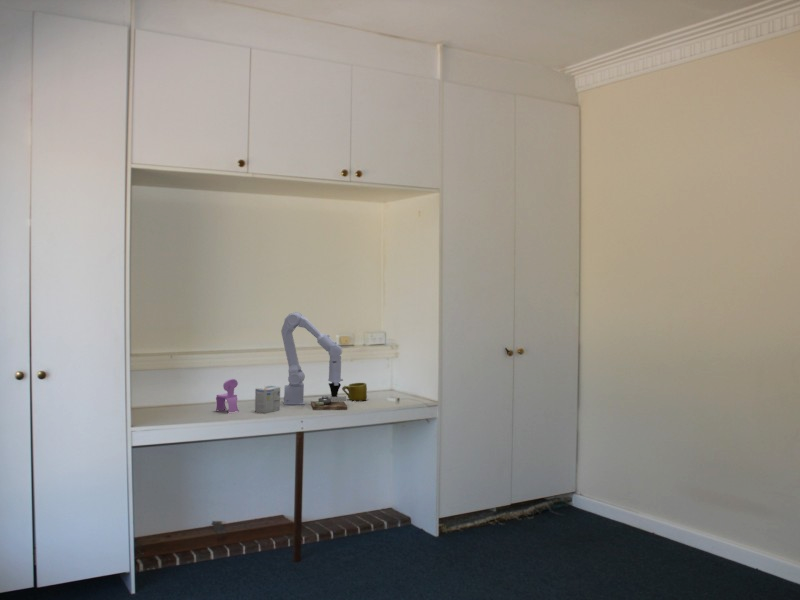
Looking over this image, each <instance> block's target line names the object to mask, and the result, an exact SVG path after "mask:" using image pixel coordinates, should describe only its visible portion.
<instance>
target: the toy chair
mask: <svg viewBox="0 0 800 600" xmlns="http://www.w3.org/2000/svg"><path fill="white" fill-rule="evenodd" d="M238 385H239V382H238V380H237V379H236V378H230V379H227V380H226V381H225V382H224V383H223V385H222V386H223V389H224V391H226V393H221V394H216V397H215V400H216V409H215V411H216V410H221V411H224V410H223V409H226V410H228V412H227V414H228V413H229V412H235V411H239V412H240V410H239V408H238V394H235V389H236V388H237V386H238ZM226 402H227V404H228V408H227V405H226ZM235 413H236V412H235ZM229 414H230V413H229Z"/></svg>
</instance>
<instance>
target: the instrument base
mask: <svg viewBox="0 0 800 600" xmlns="http://www.w3.org/2000/svg"><path fill="white" fill-rule="evenodd" d="M318 401H319V400H318ZM318 401H317V400H316V401H310V406H311V408H312V410H313V411H325V410H326V411H339V410H342V411H344V410H345V411H348V405H347V404H346V401H331V404H326V405H324V402H318Z"/></svg>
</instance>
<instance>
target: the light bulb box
mask: <svg viewBox="0 0 800 600" xmlns="http://www.w3.org/2000/svg"><path fill="white" fill-rule="evenodd" d="M254 395H255V396H254V397H255V398H254V412H255V411H256V413H261V412H262V413H263V414H268V413H271V412H275V411H279V410H280V409H281V386H275V385H267V386H262V387H256V388H255V390H254Z"/></svg>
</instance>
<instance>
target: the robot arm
mask: <svg viewBox="0 0 800 600" xmlns="http://www.w3.org/2000/svg"><path fill="white" fill-rule="evenodd" d="M297 327H299V328H303V329H305V330H306V331H308V332H309V333H310V334H311V335H313V337H314V338H316V340H317V341H316V342H317V343H318V345H319V346H320V347H321V348H323V349H324V351H326V352H328V356H329V362H328V363H329V364H328V365H329V366H328V379H327V380H328V382H329V383H328V386H329V389H330V394H331V396H338V394H339V390H340V388H341V386H342V385H341V382H343V381H344V379H343V378H341V375H342V361H341V360H342V356H341V355H342V353H343V349H342V347H341V345H340V344H338V343H337V342H336V341H335V342H334V340H332V338H331V336H330V335H329V334H326V333H322V332H321V331H320V330H319V329H318V328H317V327H316V326H315V325H314V324H313V323H312V322H311V321H310V320H309V319H307V317H305V315H303V314H301V313H300V312H299V311H295V312H293V313H289V314H288V315H287V316H286V317H285V318H284V321H283V325H282V327H281V330H280V332H281V337H282V341H283V346H284V351H285V355H286V360H287V365H288V377H287V378H288V379H287V380H288V382H289V383H288V384H286V385H284V387H283V388H284V389H283V390H284V394H283V395H284V396H283V403H284V405H285V406H286V405H288V406H290V405H293V406H295V405H300V406H301V405H305V401H304V395H305V394H304V392H305V389H304V388H305V387H304V385H305V384H304V380H305V377H306V376H305V373H304V372H303V370H302V366H301V365H300V364H299V358H298V353H297V349H296V345H295V339H294V335H293V332H294V330H296V328H297Z"/></svg>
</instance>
